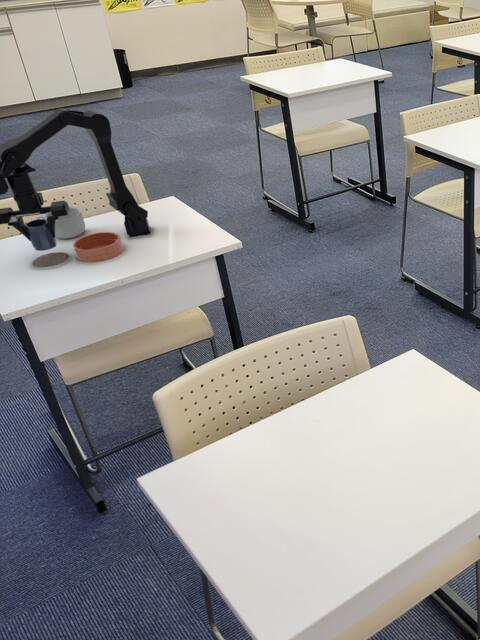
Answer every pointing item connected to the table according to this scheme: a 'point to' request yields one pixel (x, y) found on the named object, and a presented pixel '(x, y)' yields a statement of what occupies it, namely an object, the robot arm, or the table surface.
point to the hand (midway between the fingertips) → (42, 239)
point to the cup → (40, 235)
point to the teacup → (68, 224)
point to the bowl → (98, 247)
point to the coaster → (50, 259)
